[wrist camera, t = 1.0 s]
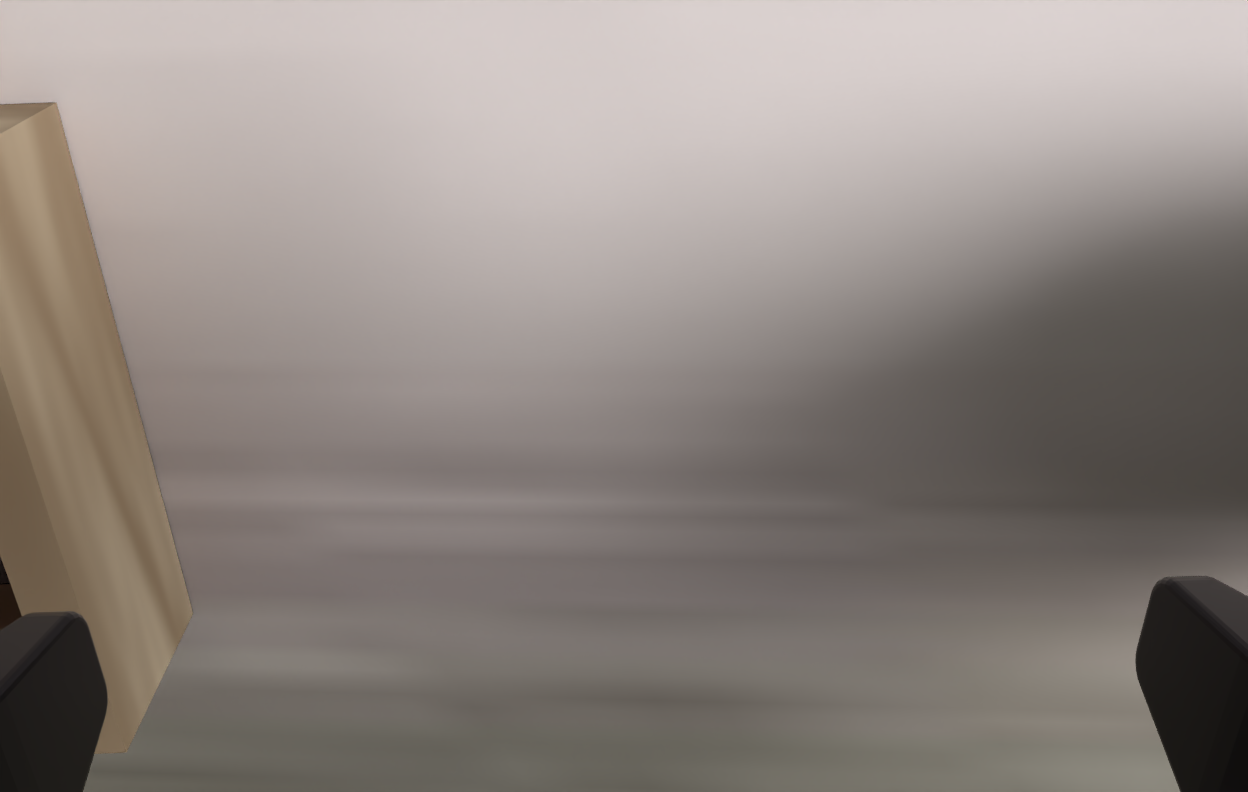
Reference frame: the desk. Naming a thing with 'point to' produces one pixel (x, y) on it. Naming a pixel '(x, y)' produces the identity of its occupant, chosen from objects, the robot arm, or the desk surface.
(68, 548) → the birch box
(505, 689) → the desk surface
